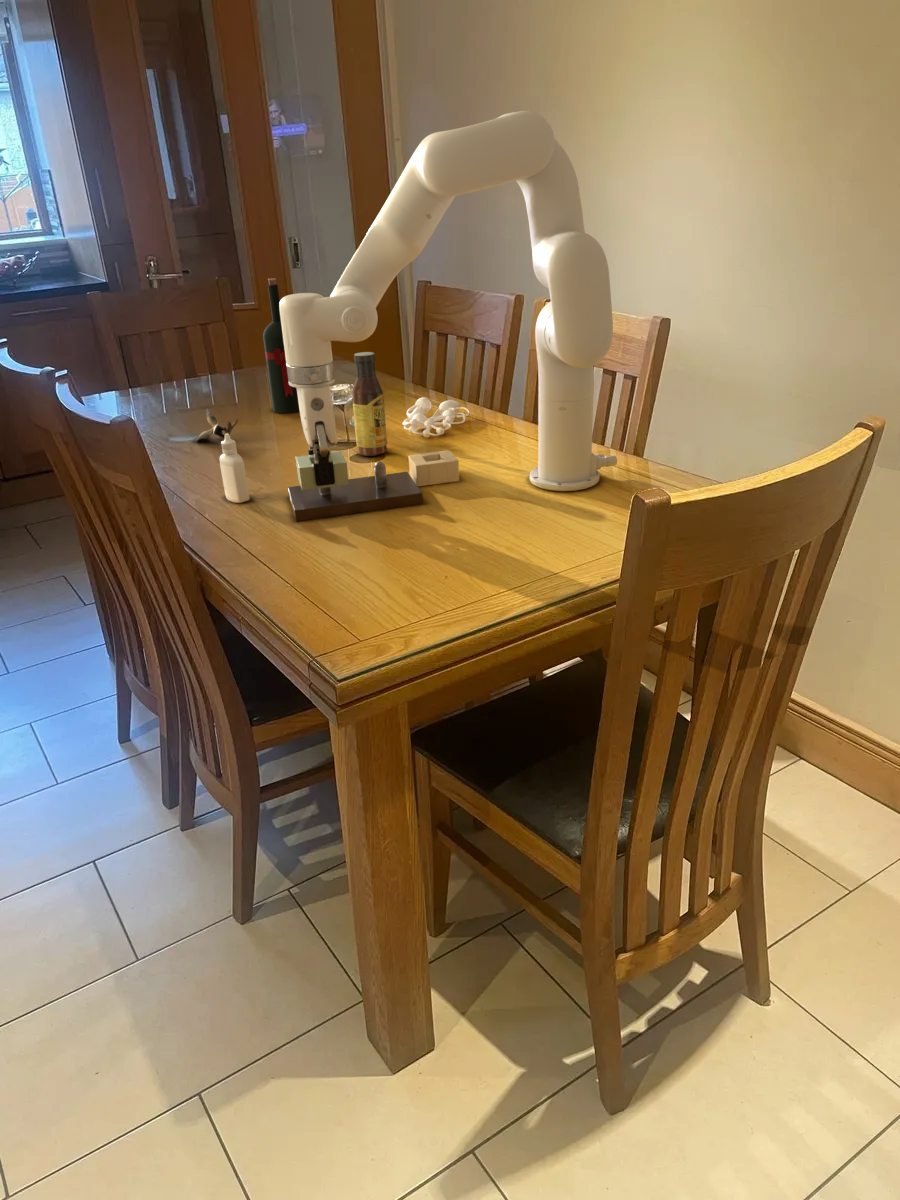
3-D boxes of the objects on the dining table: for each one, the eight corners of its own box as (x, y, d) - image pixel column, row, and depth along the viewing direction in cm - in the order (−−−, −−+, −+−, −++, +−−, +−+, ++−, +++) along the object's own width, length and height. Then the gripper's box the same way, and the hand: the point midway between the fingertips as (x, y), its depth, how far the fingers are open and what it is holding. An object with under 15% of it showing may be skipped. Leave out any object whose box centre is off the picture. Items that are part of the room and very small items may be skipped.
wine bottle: (275, 417, 204) (256, 283, 190) (271, 406, 213) (253, 278, 199) (308, 413, 206) (292, 280, 192) (303, 403, 214) (287, 275, 201)
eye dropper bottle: (225, 505, 153) (213, 439, 148) (225, 494, 158) (214, 431, 153) (249, 502, 154) (239, 437, 148) (250, 492, 159) (239, 428, 153)
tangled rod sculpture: (455, 445, 182) (456, 426, 180) (389, 437, 185) (389, 419, 183) (474, 417, 198) (474, 399, 196) (413, 410, 201) (413, 393, 199)
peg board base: (408, 481, 160) (405, 447, 157) (422, 503, 150) (420, 468, 147) (289, 497, 155) (284, 463, 152) (296, 521, 145) (291, 484, 142)
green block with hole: (343, 473, 153) (341, 451, 151) (348, 484, 148) (346, 462, 146) (298, 478, 151) (295, 456, 150) (302, 490, 146) (299, 468, 144)
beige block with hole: (450, 470, 165) (449, 450, 163) (459, 481, 159) (458, 460, 157) (409, 475, 163) (408, 455, 161) (417, 486, 157) (415, 465, 155)
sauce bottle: (383, 457, 173) (374, 357, 164) (353, 457, 174) (343, 357, 165) (391, 447, 179) (383, 350, 170) (362, 447, 180) (353, 350, 171)
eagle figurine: (244, 430, 191) (211, 420, 194) (233, 409, 184) (199, 399, 187) (226, 457, 188) (193, 446, 191) (214, 436, 182) (180, 425, 184)
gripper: (341, 383, 134) (352, 491, 142) (326, 361, 149) (337, 460, 157) (293, 388, 133) (306, 497, 141) (283, 365, 148) (295, 465, 156)
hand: (322, 477), depth 149 cm, fingers closed on green block with hole, 6 cm apart
